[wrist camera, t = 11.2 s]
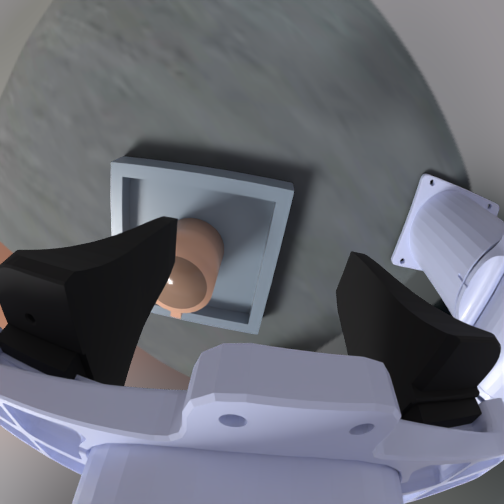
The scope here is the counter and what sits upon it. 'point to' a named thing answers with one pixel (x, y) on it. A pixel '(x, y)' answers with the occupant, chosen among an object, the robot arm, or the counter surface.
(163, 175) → the tray
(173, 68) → the counter surface
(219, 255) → the terracotta cup
